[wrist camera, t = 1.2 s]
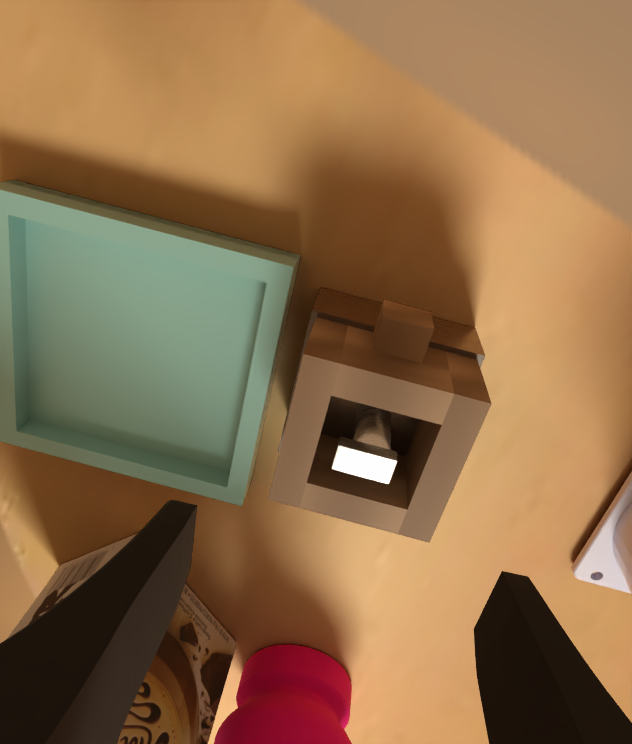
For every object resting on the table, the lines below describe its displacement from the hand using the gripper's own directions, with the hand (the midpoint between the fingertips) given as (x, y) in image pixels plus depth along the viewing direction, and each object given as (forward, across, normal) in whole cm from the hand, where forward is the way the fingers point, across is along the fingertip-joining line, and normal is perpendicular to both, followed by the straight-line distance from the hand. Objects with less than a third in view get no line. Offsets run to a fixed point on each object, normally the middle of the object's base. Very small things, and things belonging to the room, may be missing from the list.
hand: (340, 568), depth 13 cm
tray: (+10, +9, +1) cm, 14 cm away
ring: (+8, -1, 0) cm, 8 cm away
